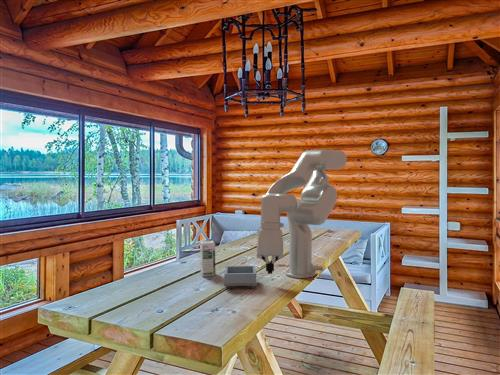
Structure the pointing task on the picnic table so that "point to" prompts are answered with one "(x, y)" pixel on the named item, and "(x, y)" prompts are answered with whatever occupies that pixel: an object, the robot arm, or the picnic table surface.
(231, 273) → the grey square cubby
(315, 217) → the robot arm
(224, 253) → the picnic table surface
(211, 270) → the syrup box
